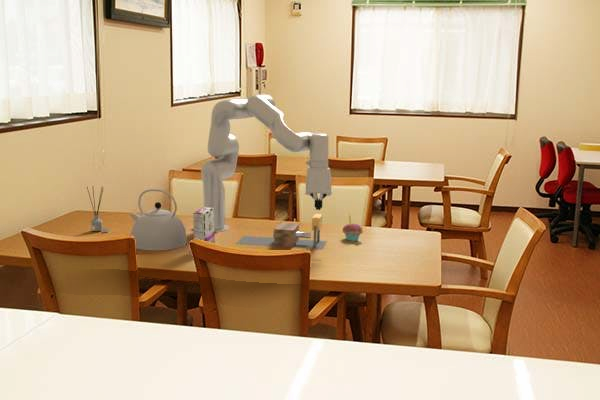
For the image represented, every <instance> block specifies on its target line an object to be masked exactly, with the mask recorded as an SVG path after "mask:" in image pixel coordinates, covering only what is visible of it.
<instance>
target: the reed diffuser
mask: <svg viewBox="0 0 600 400" xmlns="http://www.w3.org/2000/svg"><path fill="white" fill-rule="evenodd" d="M92 188H94V186H93V185H92ZM86 189H87V193H88V196H89V199H90V202H91V203H90V204H91V207H92V210H93V213H94V214H93V215H94V216H93V218H92V220H91V221H90V227H91V228H90V229H91V231H93V232H95V231H102V232H103V233H108V232H109V228H108V227H103V220H102V219H100V217H99V210H100V206H101V200H102V196H103V193H104V189H103V187H101V189H100V194H99V199H98V205H97V211H95V209H96V204H95V200H93V202H92V199H91V198H92V197H91V194H90V191H89V189H88V186H86ZM92 193H93V194H92V196H93V198H95V194H94V193H95V191H94V189H92Z"/></svg>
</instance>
